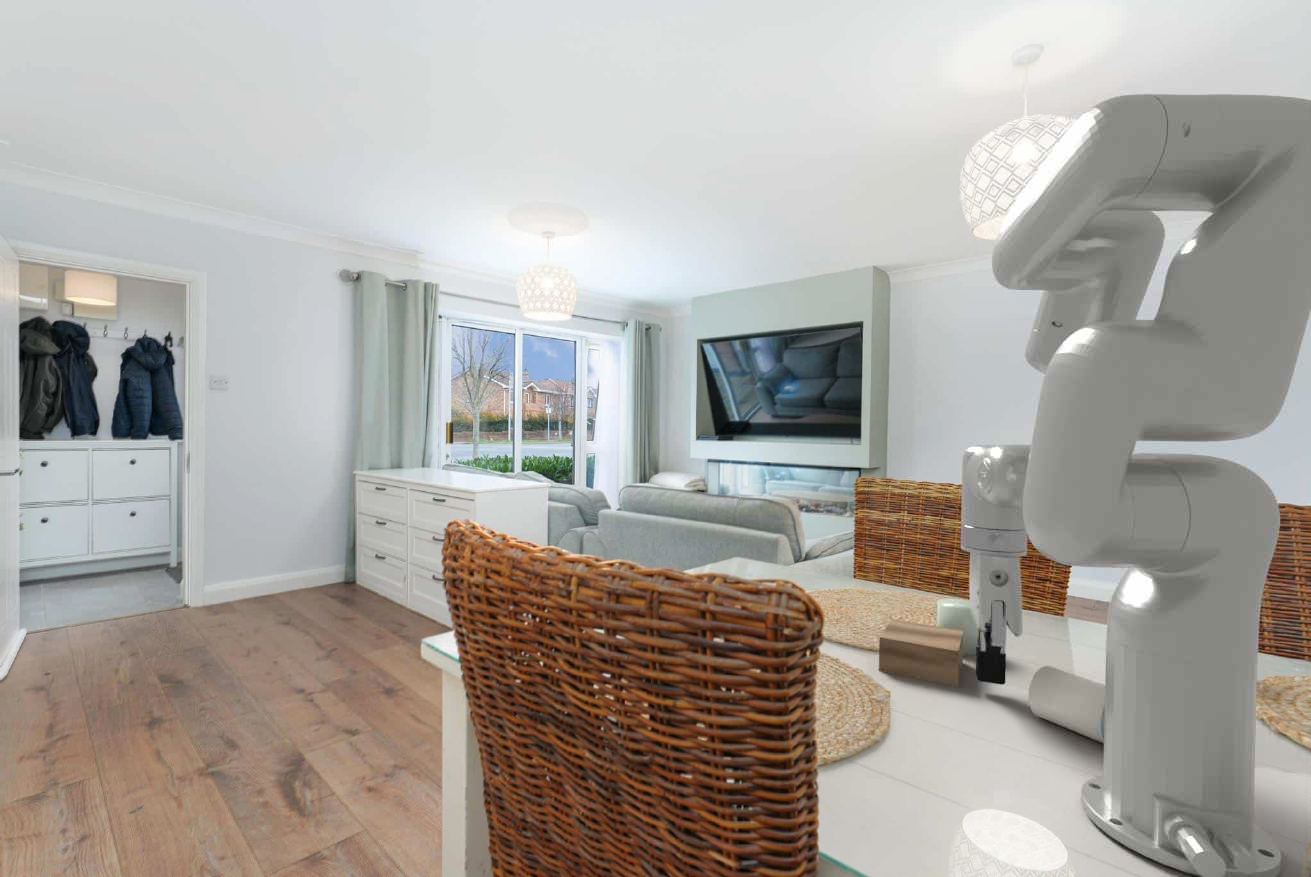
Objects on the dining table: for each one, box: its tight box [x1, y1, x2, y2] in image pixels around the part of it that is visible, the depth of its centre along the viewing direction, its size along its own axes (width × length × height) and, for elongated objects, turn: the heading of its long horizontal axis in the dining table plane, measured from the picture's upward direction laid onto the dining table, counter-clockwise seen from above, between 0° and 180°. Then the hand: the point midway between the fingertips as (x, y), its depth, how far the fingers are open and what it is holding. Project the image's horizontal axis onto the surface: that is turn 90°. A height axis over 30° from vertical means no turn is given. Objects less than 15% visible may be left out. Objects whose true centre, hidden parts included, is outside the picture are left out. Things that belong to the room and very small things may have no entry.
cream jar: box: [1028, 665, 1105, 745], centre depth 68 cm, size 6×6×9 cm
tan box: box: [878, 619, 964, 687], centre depth 87 cm, size 10×10×5 cm
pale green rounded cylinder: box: [936, 598, 980, 657], centre depth 95 cm, size 6×6×7 cm
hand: (990, 680), depth 78 cm, fingers closed
